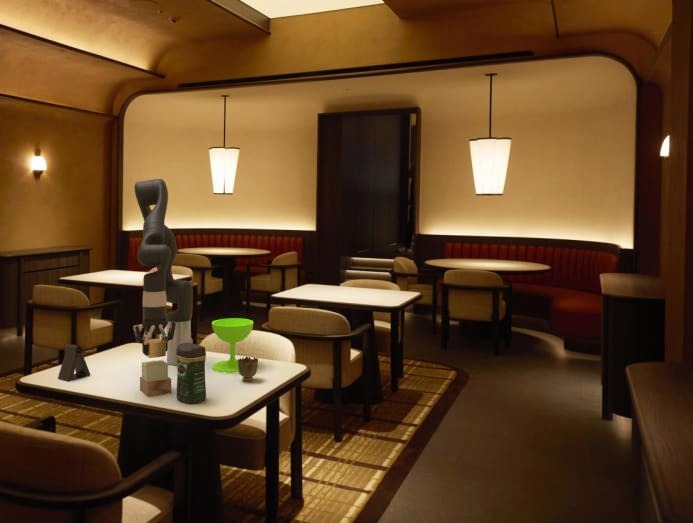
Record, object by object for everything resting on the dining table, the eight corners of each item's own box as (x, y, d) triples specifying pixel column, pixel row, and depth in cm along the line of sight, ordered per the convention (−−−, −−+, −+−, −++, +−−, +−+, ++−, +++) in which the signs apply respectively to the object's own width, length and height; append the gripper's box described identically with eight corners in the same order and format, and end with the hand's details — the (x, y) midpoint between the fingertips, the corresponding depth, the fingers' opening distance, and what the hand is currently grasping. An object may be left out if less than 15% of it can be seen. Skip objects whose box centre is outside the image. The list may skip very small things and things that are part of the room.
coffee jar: (210, 400, 193) (210, 344, 191) (189, 406, 187) (189, 348, 185) (193, 393, 199) (192, 339, 197) (172, 399, 193) (172, 343, 191)
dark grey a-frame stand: (67, 381, 209) (67, 348, 208) (57, 378, 212) (57, 346, 211) (90, 375, 217) (90, 343, 216) (80, 373, 220) (79, 341, 219)
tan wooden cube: (160, 352, 203) (160, 338, 202) (165, 356, 198) (165, 341, 198) (144, 354, 200) (144, 340, 199) (149, 358, 195) (149, 343, 195)
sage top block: (162, 373, 205) (162, 359, 204) (168, 379, 199) (167, 364, 198) (141, 376, 201) (141, 362, 200) (146, 382, 195) (146, 367, 195)
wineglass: (206, 364, 235) (206, 320, 233) (244, 360, 243) (244, 317, 241) (219, 375, 221) (219, 327, 219) (259, 369, 229) (259, 324, 227)
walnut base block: (163, 387, 206) (163, 373, 205) (171, 393, 200) (171, 378, 199) (140, 391, 201) (139, 376, 201) (147, 397, 195) (147, 382, 194)
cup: (261, 379, 217) (262, 357, 216) (252, 384, 210) (252, 362, 210) (243, 376, 220) (243, 355, 219) (233, 382, 213) (233, 360, 212)
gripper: (171, 301, 205) (172, 349, 206) (129, 304, 196) (129, 354, 198) (179, 304, 199) (179, 353, 200) (136, 307, 190) (136, 359, 192)
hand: (155, 353), depth 199 cm, fingers closed on tan wooden cube, 5 cm apart
